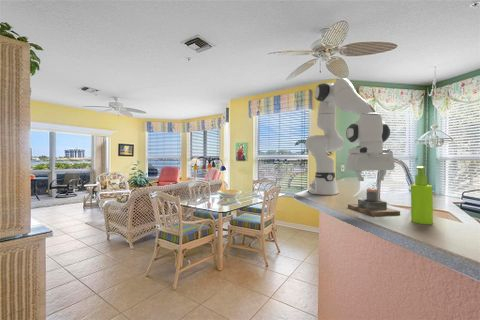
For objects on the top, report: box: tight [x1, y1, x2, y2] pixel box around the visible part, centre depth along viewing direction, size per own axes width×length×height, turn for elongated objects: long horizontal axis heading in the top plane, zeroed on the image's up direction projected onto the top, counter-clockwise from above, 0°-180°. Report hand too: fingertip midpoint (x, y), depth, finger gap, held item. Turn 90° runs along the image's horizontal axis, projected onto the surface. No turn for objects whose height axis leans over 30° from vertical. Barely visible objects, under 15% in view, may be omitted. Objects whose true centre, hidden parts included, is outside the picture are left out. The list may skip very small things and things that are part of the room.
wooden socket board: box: [347, 198, 401, 217], centre depth 93 cm, size 16×12×4 cm
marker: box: [366, 188, 378, 202], centre depth 93 cm, size 4×4×8 cm
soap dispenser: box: [410, 165, 434, 225], centre depth 76 cm, size 6×7×20 cm
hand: (370, 180), depth 94 cm, fingers open, 8 cm apart
